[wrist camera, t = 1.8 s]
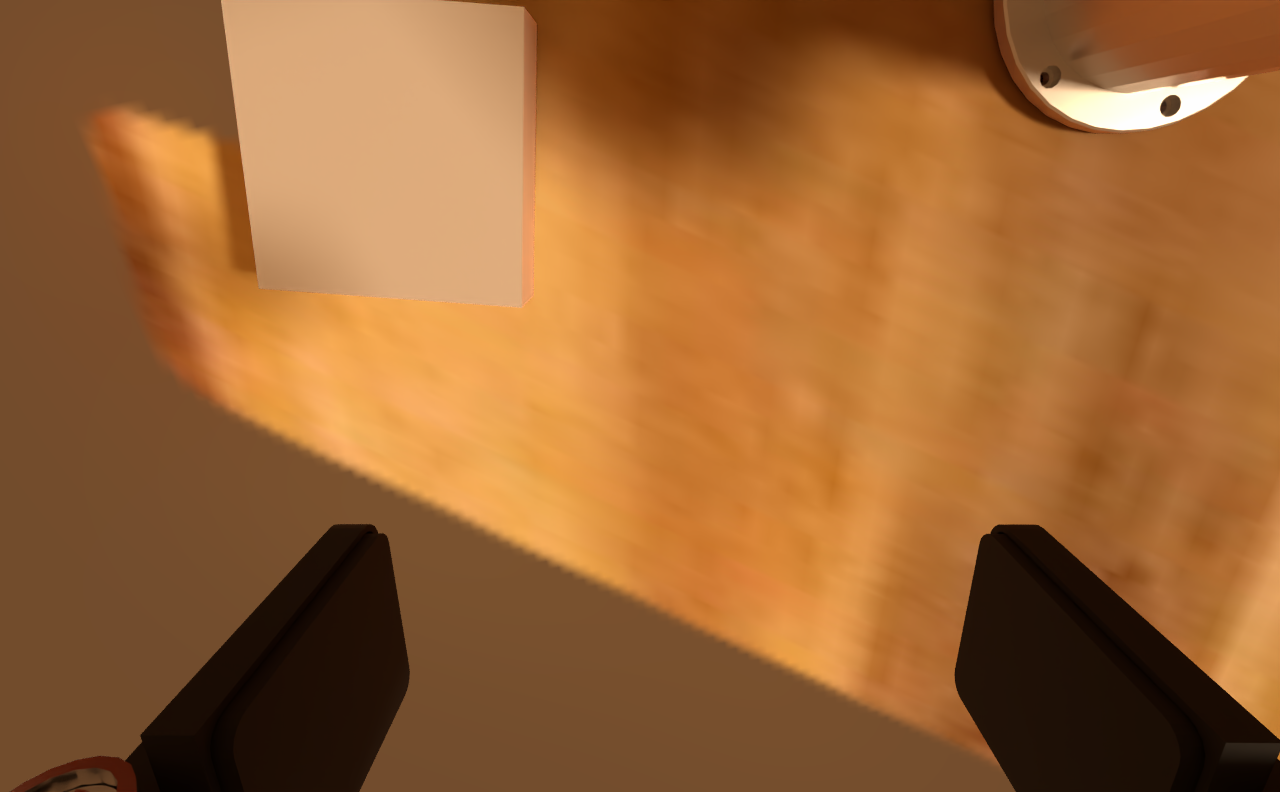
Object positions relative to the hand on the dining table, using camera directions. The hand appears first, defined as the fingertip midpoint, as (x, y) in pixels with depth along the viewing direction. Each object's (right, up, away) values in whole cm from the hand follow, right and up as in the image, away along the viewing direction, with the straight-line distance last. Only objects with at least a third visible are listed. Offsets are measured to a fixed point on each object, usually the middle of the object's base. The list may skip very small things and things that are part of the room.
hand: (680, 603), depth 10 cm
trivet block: (-12, +14, +19) cm, 27 cm away
